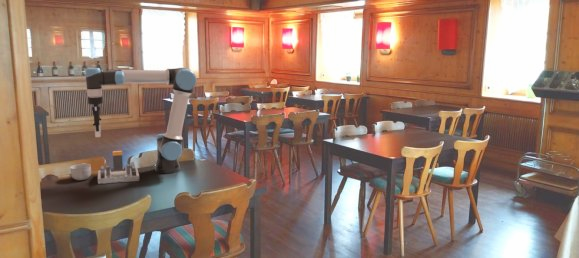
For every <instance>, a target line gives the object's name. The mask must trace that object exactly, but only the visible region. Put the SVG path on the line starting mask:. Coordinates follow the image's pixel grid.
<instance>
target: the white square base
mask: <svg viewBox="0 0 579 258" xmlns="http://www.w3.org/2000/svg"><path fill="white" fill-rule="evenodd" d="M130 168H131V170H132V175H136V169H135V168H136V166H135V161H131V163H130ZM100 170H101V178H105V174H104V170H105V166H104V165H101V166H100Z"/></svg>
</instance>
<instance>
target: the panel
mask: <svg viewBox="0 0 579 258" xmlns="http://www.w3.org/2000/svg"><path fill="white" fill-rule="evenodd" d="M110 167H111V166H110V165H105V169H104V174H105V178H101V169H99V170H97V184H98V185H103V184H114V183H115V184H116V183H117V184H118V183H129V182H139V181H140V174H139V170H138V167H135V169H136V175H132V170H131V163H128V164H125V169H126V171H115V172H111V168H110Z"/></svg>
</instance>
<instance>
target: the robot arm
mask: <svg viewBox="0 0 579 258" xmlns="http://www.w3.org/2000/svg"><path fill="white" fill-rule="evenodd" d="M197 79H198V78H197V75H196V74H195V72H194V71H192V70H191V69H190V68H185V67H178V68H176V67H175V68H166V69H165V70H157V69H156V70H155V69H153V70H152V69H149V70H148V69H113V68H111V69H108V70H106V71H101V69H100V68H99V67H89V68H88V67H87V68H85V83H86V90H85V93H87V96H88V97H87V104H88V105H93V106H91V110H92V115H93V122H94V123H93V124H92V126H93V127H94V137H95V138H101V137H102V136H101V133H102V127H101V121H102V118H101V117H100V114H101V106H100V105H101V104H103V103H104V101H103V98H104V97H103V88H102V87H103V86H114V85H115V86H119V85H124V84H166V85H167V86H172V91H173V98H172V102H171V108H170V113H169V118H168V124H167V127H166V132H165V133H159V134H157V135H156V150H157V157H156V161H155V165H154V172H156V173H159V174H172V173H173V174H174V173H176V172H179V171H180V170H181V166H180V163H179V160H178V159H179V158H180V157H181V155H183V147H182V144H183V141H184V138H183V136H182V132H183V127H184V122H185V117H186V112H187V109H188V102H189V98H190V96H191V95H192V94H193V92H194V88H195V86H196V84H197Z"/></svg>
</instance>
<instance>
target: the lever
mask: <svg viewBox="0 0 579 258" xmlns="http://www.w3.org/2000/svg"><path fill="white" fill-rule="evenodd" d="M112 164H113V168H110V170H111V172H115V171H126V167H124V166H123V151H122V150H114V151H112Z"/></svg>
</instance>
